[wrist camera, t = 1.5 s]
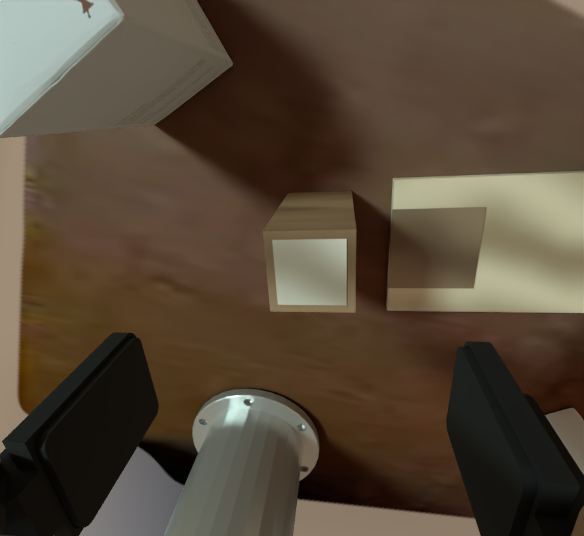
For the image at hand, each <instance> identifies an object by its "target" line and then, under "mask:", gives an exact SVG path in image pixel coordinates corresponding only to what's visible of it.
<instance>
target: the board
mask: <svg viewBox="0 0 584 536" xmlns="http://www.w3.org/2000/svg"><path fill="white" fill-rule="evenodd" d="M386 308H387V311H459V312H541V313H584V171H567V172H541V173H516V174H490V175H464V176H438V177H412V178H393V185H392V205H391V224H390V244H389V263H388V283H387V302H386Z"/></svg>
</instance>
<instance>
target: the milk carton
mask: <svg viewBox="0 0 584 536" xmlns="http://www.w3.org/2000/svg"><path fill="white" fill-rule="evenodd" d="M545 416H546V418H547V419H548V421H549V422H550V424H551V425H552V427H553V428H554V430H555V431H556V433H557V434H558V436H559V438H560V439H561V441H562V442H563V444H564V445H565V447H566V448H567V450H568V451H569V453H570V454H571V456H572V457H573V459H574V461H575V462H576V464H577V465H578V467H579V468H580V470H581V471H582V473H583V474H584V420H583V419H582V417H581V416H580V415H579V413H578V412H577V411H576V410H575V409H574V408H568V409H565V410H561V411H557V412H554V413H550V414H547V415H545Z"/></svg>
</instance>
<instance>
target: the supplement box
mask: <svg viewBox="0 0 584 536" xmlns="http://www.w3.org/2000/svg"><path fill="white" fill-rule="evenodd" d="M232 65H233V62H232V61H231V59H230V57H229V55H228V54H227V52H226V50H225V48H224V47H223V45H222V43H221V42H220V40H219V38H218V36H217V35H216V33H215V31H214V30H213V28H212V26H211V24H210V22H209V21H208V19H207V17H206V16H205V14H204V12H203V10H202V9H201V7H200V5H199V3H198V2H197V0H0V138H5V137H20V136H33V135H46V134H57V133H69V132H79V131H90V130H101V129H113V128H124V127H139V126H152V125H155V124H157V123H158V122H159V121H161V120H162V119H164V118H165V117H166V116H168V115H169V114H170V113H172V112H173V111H174V110H176V109H177V108H178V107H179V106H181V105H182V104H183V103H185V102H186V101H187V100H189V99H190V98H191V97H192V96H194V95H195V94H196V93H198V92H199V91H200V90H201V89H203V88H204V87H205V86H207V85H208V84H209V83H210V82H212V81H213V80H214V79H216V78H217V77H218V76H219V75H221V74H222V73H223V72H225V71H226V70H227V69H229V68H230V67H231V66H232Z"/></svg>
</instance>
